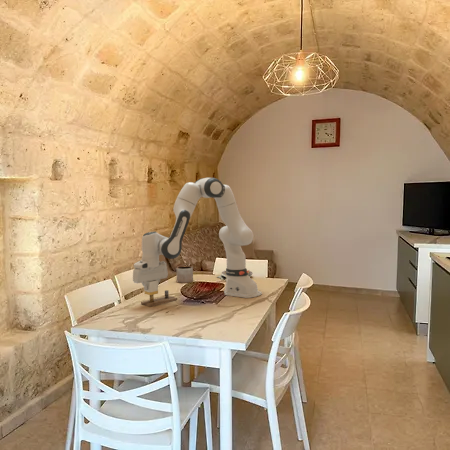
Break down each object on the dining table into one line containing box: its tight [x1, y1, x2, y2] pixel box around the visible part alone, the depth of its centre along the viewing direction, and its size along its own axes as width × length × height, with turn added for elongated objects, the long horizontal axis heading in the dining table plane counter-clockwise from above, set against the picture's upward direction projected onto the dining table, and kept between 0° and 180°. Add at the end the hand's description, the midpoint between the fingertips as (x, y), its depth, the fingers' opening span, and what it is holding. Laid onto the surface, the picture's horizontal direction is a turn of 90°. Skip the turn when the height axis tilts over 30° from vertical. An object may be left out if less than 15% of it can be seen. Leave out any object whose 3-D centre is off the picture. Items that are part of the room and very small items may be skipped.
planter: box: [176, 265, 194, 284], centre depth 266 cm, size 11×11×10 cm
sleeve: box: [144, 280, 159, 296], centre depth 211 cm, size 5×5×7 cm
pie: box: [216, 270, 253, 281], centre depth 277 cm, size 28×27×5 cm
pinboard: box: [140, 290, 178, 308], centre depth 216 cm, size 8×18×5 cm, turn 136°
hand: (151, 288), depth 211 cm, fingers closed on sleeve, 5 cm apart
